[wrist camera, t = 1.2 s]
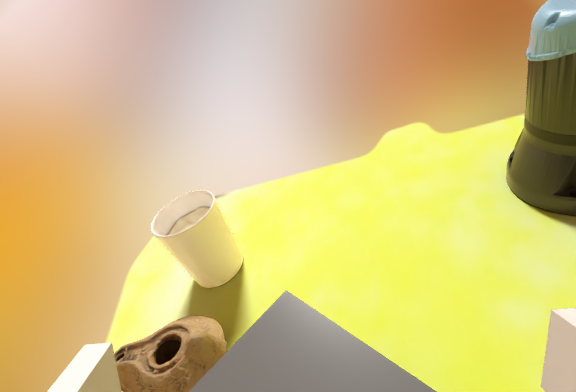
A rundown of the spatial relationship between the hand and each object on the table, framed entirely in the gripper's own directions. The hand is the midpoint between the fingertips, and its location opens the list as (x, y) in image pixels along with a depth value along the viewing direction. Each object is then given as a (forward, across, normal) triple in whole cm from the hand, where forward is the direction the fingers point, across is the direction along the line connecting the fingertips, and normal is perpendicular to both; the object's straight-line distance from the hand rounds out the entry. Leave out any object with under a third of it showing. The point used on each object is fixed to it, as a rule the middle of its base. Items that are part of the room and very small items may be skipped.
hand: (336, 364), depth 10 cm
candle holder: (+43, -12, -16) cm, 47 cm away
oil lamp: (+28, -14, -23) cm, 39 cm away
